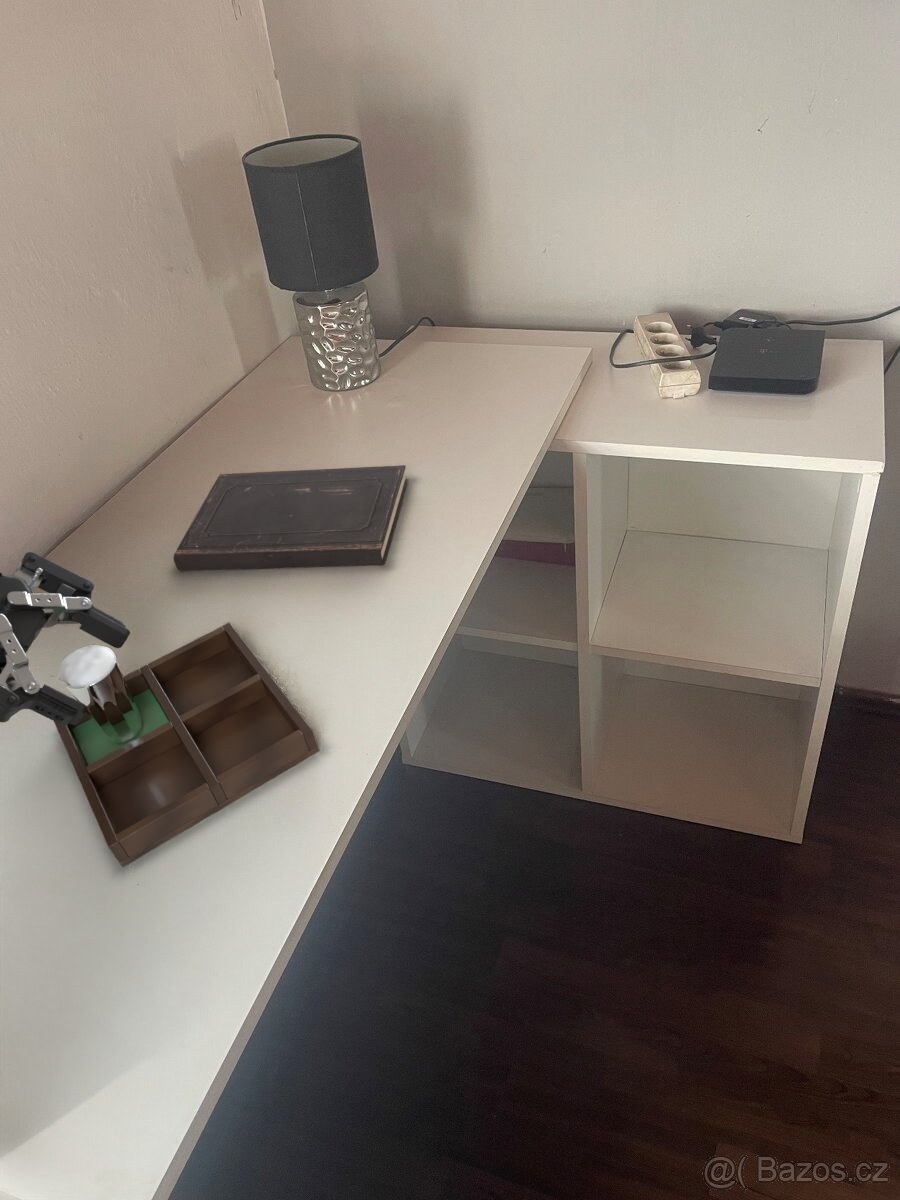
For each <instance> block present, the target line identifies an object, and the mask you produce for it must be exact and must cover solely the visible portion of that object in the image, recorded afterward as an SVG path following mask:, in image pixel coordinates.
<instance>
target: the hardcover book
mask: <svg viewBox="0 0 900 1200" xmlns="http://www.w3.org/2000/svg"><path fill="white" fill-rule="evenodd" d="M406 468H407V467H406V465H381V466H380V465H379V466H363V467H362V466H361V467H360V466H359V467H341V468H339V467H338V468H321V469H298V470H278V471H277V470H276V471H259V472H258V471H255V472H253V471H252V472H236V473H235V472H233V473H219V474H218V476H217V478H216V480H215V481H214V483H213V485H212V486H211V488H210V490H209V492H208V494H207V495H206V497H205V499H204V501H203V502H202V504H201V505H200V508H199V509H198V511H197V513H196V514H195V517H194V518H193V520H192V522H191V523H190V525H189V527H188V529H187V531H186V532H185V534H184V536H183V537H182V539H181V541H180V542H179V544H178V547H177V548H176V550H175V552H174V553H173V562H174V565H175V567H176V569H177V570H178V571H181V572H183V571H220V570H221V571H222V570H223V571H224V570H258V569H259V570H261V569H262V570H263V569H294V568H295V569H296V568H297V569H298V568H299V569H300V568H302V569H303V568H334V567H337V568H339V567H370V566H371V567H373V566H375V567H377V566H378V567H379V566H385V565H386V563H387V562H386V561H387V558H388V555H389V551H390V548H391V544H392V541H393V537H394V534H395V530H396V527H397V523H398V519H399V516H400V512H401V508H402V505H403V501H404V498H405V494H406V492H407V491H406V490H407V487H408V484H409V479H406V478H405V475H404V474H405V471H406Z"/></svg>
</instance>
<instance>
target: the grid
mask: <svg viewBox="0 0 900 1200" xmlns="http://www.w3.org/2000/svg"><path fill="white" fill-rule="evenodd" d="M123 677H124V679H125V682H126V684H127V686H128V688H129V691H130V693H131V695H132V698H133V700H134V702H135V705H136V707H137V709H138V711H139V714H140V716H141V718H142V729H141V730H140V731H139V732H138V734H137V735H136V736H135V737H134V738H132V739H130V740H128V741H126V742H124V743H112V742H111V741H110V740H108V739H107V738H106V737H105V736H104V735H103V733H102V732H101V731H100V729H99V728H98V727H97V725H96V724H95V723H94V721H93V720H92V719H91V717H90V716H89V715H88V713H87V712H85V714H84V716H83V717H82V719H81V720H80V721H79V723H78V724H70V723H69V724H68V725H62V724H59V723H57V722H55V721H54V720H52V721H53V723H54V725H55V728H56V730H57V732H58V734H59V737H60V739H61V741H62V743H63V744H62V745H63V746H64V749H65V750H66V753H67V755H68V757H69V760H70V762H71V765H72V767H73V769H74V771H75V774H76V776H77V778H78V781H79V784H80V785H81V788H82V790H83V792H84V795H85V797H86V800H87V802H88V804H89V806H90V809H91V811H92V813H93V815H94V818H95V819H96V823H97V825H98V827H99V829H100V832H101V834H102V836H103V839H104V841H105V844H106V845H107V848H108V849H109V851H110V852H111V854H112V855H113V856H114V858H115V860H116V861H117V862H118V863H119V865H120V866H121V868H124V867H127V866H128V865H129V864H131V863H134V862H135V861H136V860H137V859H140V858H142V857H143V856H145V855H146V854H148V853H150V852H151V851H154V850H155V849H157V848H158V847H160V846H162V845H163V844H166V843H167V842H168V841H170V840H172V839H173V838H175V837H176V836H178V835H181V834H182V833H184V832H185V831H187V830H188V829H191V828H192V827H194V826H195V825H197V824H199V823H200V822H202V821H204V820H205V819H208V818H209V817H211V816H212V815H214V814H216V813H217V812H220V811H221V810H222V809H224V808H226V807H227V806H229V805H231V804H232V803H234V802H236V801H238V800H239V799H242V798H243V797H244V796H246V795H248V794H250V793H252V792H253V791H254V790H255V791H256V789H258V788H260V787H261V786H264V784H267V783H268V782H270V781H272V780H273V779H275V778H276V777H278V776H280V775H282V774H284V773H285V772H286V771H288V770H290V769H292V768H293V767H295V766H297V765H298V764H300V763H302V762H304V761H306V760H307V759H309V758H310V757H312V756H313V755H315V754H317V753H319V752H320V748H319V745H318V743H317V740H316V737H315V734H314V732H313V729H312V728H311V727H310V725H309V723H308V722H306V720H305V718H304V717H303V716H302V715H301V713H300V712H299V711H298V709H297V708H296V707H295V705H294V704H293V703H292V701H290V699H289V698H288V696H287V695H286V694H285V692H283V690H282V688H281V687H280V686H279V685H278V684H277V681H275V679H274V678H273V677H272V676H271V674H270V673H269V671H268V670H267V669H266V668H265V667H264V665H263V664H262V662H261V661H260V660H259V658H258V657H257V656H256V655H255V654H254V652H253V651H252V649H251V648H250V647H249V645H248V644H247V643H246V642H245V640H244V639H243V638H242V636H241V635H240V634H239V632H238V631H237V630H236V629H235V627H234V626H233V624H232V623H231V622H230V621H229V622H227V623H225V624H223V625H222V626H220V627H217V628H215V629H214V630H212V631H210V632H208V633H205V634H203V635H202V636H200V637H198V638H195V639H194V640H192V641H190V642H188V643H186V644H184V645H181V646H180V647H179V648H176V649H175V650H173V651H170V652H168V653H166V654H165V655H163V656H161V657H159V658H157V659H154V660H153V661H151V662H149V663H147V664H145V665H143V666H141V667H140V668H137V669H135V670H134V671H131V672H129V673H128V674H126V675H123Z"/></svg>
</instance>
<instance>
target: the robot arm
mask: <svg viewBox="0 0 900 1200" xmlns="http://www.w3.org/2000/svg"><path fill="white" fill-rule="evenodd" d="M33 588H38V589H40V590H42V591H43V592H44V593H43V592H42V593H41V592H40V593H34V592H33V591H32V589H33ZM94 589H95V584H94V583H93V581H91V580H90V579H88V578H85V577H83V576H81V575H79V574H77V573H75V571H72V570H70V569H67V568H65V567H63V566H62V565H60V564H58V563H56V562H53V561H52V560H49V559H48V558H45V557H44V556H42V555H40V554H38V553H36V552H32V551H29V552H26V553H25V554H24V556H23V558H21V560H20V562H19V564H18V565H17V568H16V571H15V573H14V575H10V574H6V573H2V572H0V723H7V722H8V721H9V720H11V718H12V717H13V716H14V715H16V714H18V713H19V712H21V711H22V710H29V711H33V712H35V713H36V714H39V715H41V716H43V717H45V718H47V719H49V720H50V721H53V720H54V721H55V722H57V723H59V724H62V725H68V724H69V723H70V724H78V723H79V721H80V720H81V719H82V717H83V716H84V714H85V712H86V711H87V709H88V708H87V706H86V705H85V704H83V703H81V702H79V701H77V700H76V698H73V697H72V696H69V695H67V694H65V693H63V692H61V691H60V690H57V689H56V688H53V687H51V686H49V685H48V684H46V683H44V684H43V685H42V687H41V686H40V683H39V681H38V680H37V678H36V676H35V674H34V673H33V671H32V669H31V667H30V661H29V657H28V656H27V654H26V653H28V651H29V649H30V648H31V646H32V644H33V643H34V641H35V640H36V639H37V637H38V636H39V634H40V633H41V631H42V630H43V629H49V628H52V627H55V626H58V625H80V626H79V628H78V629H79V630H81V631H82V632H85V633H86V634H88V635H90V636H92V637H94V638H96V639H98V640H100V641H101V642H103V643H105V644H107V645H109V646H111V647H113V648H115V649H121V648H122V647H123V645H125V643H126V642H127V640H128V639H129V637H130V635H131V630H130V629H128V628H127V626H126V625H125V624H124V623H123V621H121V620H120V619H118V618H116V617H114V616H112V615H111V614H108V613H107V612H105V611H104V610H101V609H100V608H97V607H96V606H94V604H93V602H92V595H93V594H92V592H93V590H94ZM45 592H46V593H45ZM54 721H53V722H54Z"/></svg>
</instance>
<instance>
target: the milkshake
mask: <svg viewBox="0 0 900 1200" xmlns="http://www.w3.org/2000/svg"><path fill="white" fill-rule="evenodd" d="M116 656H117V655H116V654H115V652H114V651H113V650H112V649H111V648H110V647H107V646H105V645H100V644H90V645H84V646H81V647H78V648H76V649H74V650H73V651H72V652H71V653H69V654H67V655H66V656H65V657H63V659H62V661H61V663H60V667H59V674H58V677H57V676H54V675H50V677H51V678H53V679H55V680H57V681H59V682H61V683H62V684H63V685H64V687H66V689H67V690H68V691H69V692H70V694H71V695H72V696H73V697H74V699H75V700H77V701H79V702H81V703H83V704H85V705H86V706H87V708H88V709H87V711H86V712H87V713H88V715H89V716H90V717H91V719H92V720H93V721H94V723H95V724H96V725H97V727H98V728H99V729H100V731H101V732H102V733H103V735H104V736H105V737H106V738H107V739H108V740H110V741H111V742H112V743H124V742H126V741H128V740H130V739H132V738H134V737H135V736H136V735H137V734H138V732H139V731H140V730H141V729H142V718H141V716H140V714H139V711H138V709H137V707H136V705H135V702H134V700H133V698H132V695H131V693H130V691H129V688H128V686H127V684H126V682H125V679H124V674H123V672H122V670H121V667H120V664H119V661H118V659H117V657H116Z"/></svg>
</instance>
